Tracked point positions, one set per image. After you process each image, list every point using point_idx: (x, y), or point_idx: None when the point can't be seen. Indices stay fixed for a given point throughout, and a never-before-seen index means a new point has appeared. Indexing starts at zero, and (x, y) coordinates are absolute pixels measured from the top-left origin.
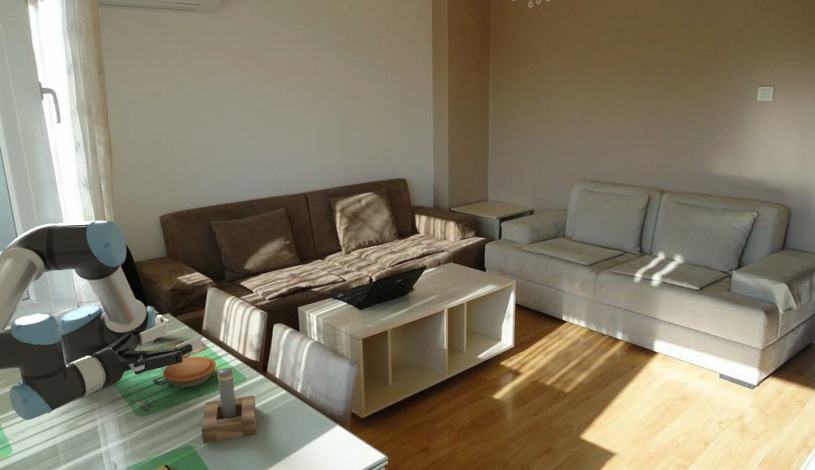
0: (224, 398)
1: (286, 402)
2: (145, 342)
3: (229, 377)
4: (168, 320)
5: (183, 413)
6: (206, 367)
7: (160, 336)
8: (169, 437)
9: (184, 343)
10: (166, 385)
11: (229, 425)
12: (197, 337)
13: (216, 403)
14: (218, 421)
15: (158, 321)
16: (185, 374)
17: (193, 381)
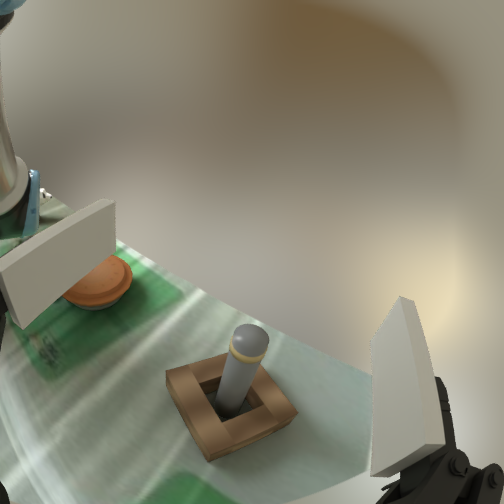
0: (240, 387)
1: (280, 343)
2: (33, 318)
3: (265, 352)
4: (51, 195)
5: (118, 378)
6: (121, 277)
7: (93, 267)
8: (127, 449)
9: (435, 388)
10: (63, 303)
11: (259, 433)
12: (416, 314)
13: (189, 372)
14: (230, 426)
15: (40, 197)
16: (93, 292)
17: (107, 303)
